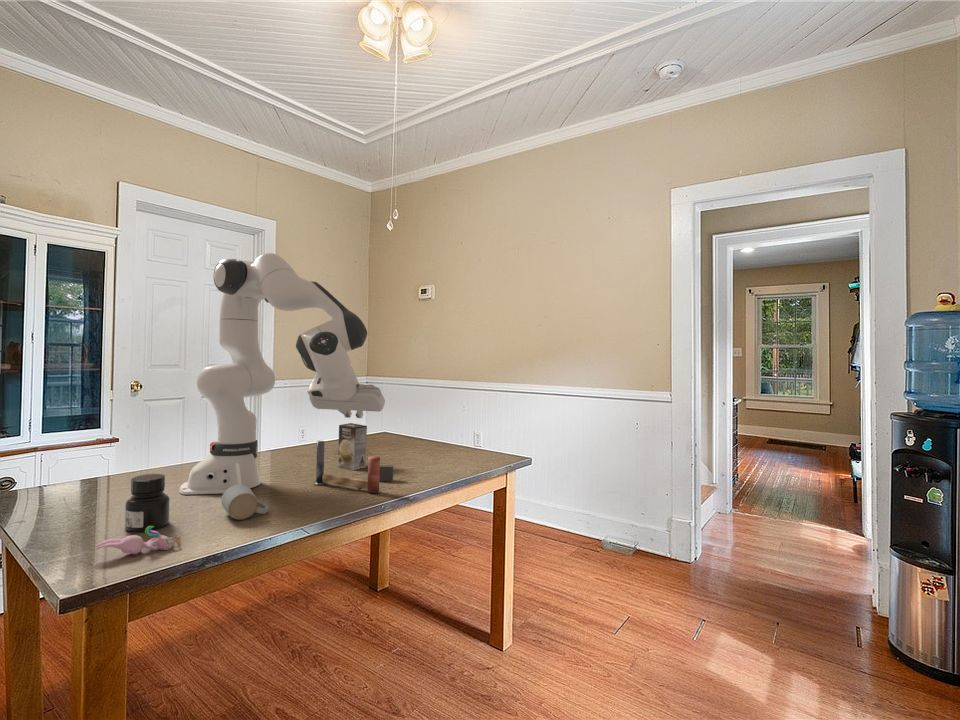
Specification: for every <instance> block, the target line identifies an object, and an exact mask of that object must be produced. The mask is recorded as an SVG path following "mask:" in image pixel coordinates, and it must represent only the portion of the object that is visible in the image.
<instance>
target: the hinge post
mask: <svg viewBox="0 0 960 720" xmlns="http://www.w3.org/2000/svg"><path fill="white" fill-rule="evenodd" d="M315 457H316V458H315V460H316V465H315V471H316V472H315V481H313V482H312V483H313V486H316V485H321V486H325V485H326V484H327V483H324V482H322V479H323V475H324V474H325V440H318V441H317V440H316V456H315Z"/></svg>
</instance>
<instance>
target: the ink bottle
mask: <svg viewBox="0 0 960 720" xmlns="http://www.w3.org/2000/svg"><path fill="white" fill-rule="evenodd" d="M165 488H166V475H165V474H162V473H150V474H149V473H147V474H141V475H137V476H134V477H132V478H131V479H130V494H131V496H130V498H128V499H127V500H126V502H125V509H124V511H125V513H124V516H125V517H124V519H125V520H124V527H125V530H126V531H128V532H134V533H138V532H139V533H140V532H145V529H146V528H147V527H148V526H155V527H153V528H152V529H151V530H152V531H155V530H157V529H161V528H163V527H165V526H166V525H169V522H170V496H169V495H168V494H166V493H165Z"/></svg>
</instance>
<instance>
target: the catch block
mask: <svg viewBox="0 0 960 720" xmlns="http://www.w3.org/2000/svg"><path fill="white" fill-rule="evenodd" d="M379 481H394V465H393V464H391V465H390V464H389V465H388V464H385V465H382V464H380V479H379Z"/></svg>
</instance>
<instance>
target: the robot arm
mask: <svg viewBox="0 0 960 720" xmlns="http://www.w3.org/2000/svg"><path fill="white" fill-rule="evenodd" d="M213 283H214V286H215V287H216V289H217V290H218V291H220V292H221V293H222V297H221V302H220V307H219V333H218V334H219V336H218V337H219V338H218V341H219V344H220V346H221V348H223V349H224V350H226V351H227V352H228V353H229V355H230V357H231V360H232V363H218V364H214V365H210V366H206V367H204V368H203V369H201V370H200V372H198V375H197V379H196V387H197V391H198V392H199V393H200V395H202V397H204V398H205V399H206V400H207V401H209V403H210V404H211V406H212V407H213V409H214V412H215V415H216V421H217V422H216V423H217V424H216V425H217V441H215V440H213V441H212V442H210V444H209V453H210V454H209V455H207V456H206V457H205V458H204V459H202V460H201V461H198V463H196V464H195V465H194V466H193V467H192V469H191V470H190V472H189V474H188V480H187V481H185V482H183V483H182V484H181V485H180V487H179V493H180V494H181V495H208V494H209V495H210V494H211V495H212V494H213V495H214V494H224V492H225V491H226V490H227V489H228V488H230V487H231V486H234V485H237V484H242V485H246V486H247V487H249V488H250V489H252V488H255V487H257V486H259V485H261V484H262V482H261V478H260V475H259V471H258V461H257V458H258V455H259V453H258V452H259V443H258V439H257V422H258V421H257V420H258V419H257V416H256V415H255V413H254V412H252V411H251V410H249V409H248V408H247V406H246V403H245V398H251V397H259V396H262V395H264V394H267V393H269V392H270V391H272V390H273V388H274V387H275V383H276V375H275V372H274V370H273V369H272V368H271V367H270V366H269V365H268V364H267V363H266V361H265V360H264V358H263V356H262V353H261V349H260V344H259V304H260V302H261V301H262V300H264V302H266V303H269V304H270V305H271V306H272V307H274V308H275V309H277V310H279V311H284V312H293V311H299V310H304V309H314V308H315V309H321V310H323V311H324V312H325V313H326V314H327V315H329V317H331V318H332V319H330V320H328V321H326V322H324V323H322V324H320V325H317V326H314V327H312V328H310V329H308V330H305V331H303V332H302V333H300V334H299V335H298V337H297V340H296V342H295V343H296V344H295V348H296V350H297V352H298V353H299V355H300V357H301V358H300V359H301V360H302V363H303V364H304V366H305V367H306V369H308V370H311V371H312V372H315V374H314V377H313V378H312V380H311V381H310V383H309V386H308V388H307V395H309V401H310V403H311V405H312V407H314V409H318V410H333V411H338V412H339V413H340V414H341V415H343V416H344V418H345V419H346V418H347V419H348V418H349V419H350V418H351V417H352V411H356V413H355V417H356V418H357V419H363V417H364V412H382V411H383V409H384V407H385V404H386V401H385V400H386V399H385V397H384V395H383V393H382V391H381V389H380V387H377V386H375V385H374V384H364V383H363V384H361V383H359V380H358V378H357V375H356V371H355V369H354V368H353V366H351V365H352V364H351V358H350V356H349V354H348V352H350V351H354V350H356V349H359V348H361V347H363V346H364V344H365V342H366V340H367V336H368V329H367V328H366V325H365V323H364V322H363V321H362V319H361V318H360V317H359V316H358V315H357V314H356V313H354V312H352V311H351V310H349V309H348V308H347V307H346V306H344V304H343V303H342V302H340V301H339V300H338V299H337V298H336V297H335V296H334V295H333V294H332V293H330V292H329V291H328V290H327V288H325V287H324V286H322V285H321V284H320V283H319V282H317V281H312V280H307V279H304V278H302V277H300V276H299V275H298V274H297V272H296V271H295V269H294V268H292V266H291V265H290V264H289V262H287V260H285V259H284V258H283V257H282V256H280V255H278V254H276V253H272V252H267V253H263V254H261V255H259V256H258V257H257V258H256V259H255V261H250V260H240V259H237V258H227V259H221V260H220V261H219V262H217V264H216V265H215V267H214V271H213Z"/></svg>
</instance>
